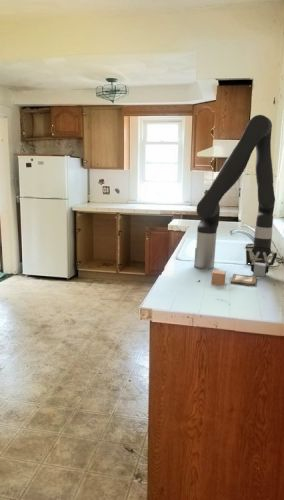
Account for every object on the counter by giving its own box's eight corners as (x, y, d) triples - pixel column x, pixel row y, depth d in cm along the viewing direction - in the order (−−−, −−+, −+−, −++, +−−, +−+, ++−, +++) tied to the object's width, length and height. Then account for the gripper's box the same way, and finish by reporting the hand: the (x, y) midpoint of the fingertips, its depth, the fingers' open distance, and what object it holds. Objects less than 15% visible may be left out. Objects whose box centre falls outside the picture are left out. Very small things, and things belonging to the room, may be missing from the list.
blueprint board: (230, 283, 159) (230, 280, 159) (233, 275, 170) (233, 273, 170) (255, 286, 156) (255, 283, 155) (256, 278, 167) (256, 276, 167)
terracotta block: (211, 284, 157) (212, 272, 156) (212, 281, 162) (213, 269, 161) (223, 285, 155) (224, 274, 154) (224, 282, 160) (225, 271, 159)
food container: (265, 262, 197) (267, 243, 195) (268, 265, 191) (270, 246, 189) (241, 261, 198) (243, 242, 196) (243, 264, 192) (245, 245, 190)
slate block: (253, 275, 171) (254, 264, 170) (253, 272, 176) (254, 262, 175) (264, 276, 170) (265, 266, 169) (264, 274, 175) (265, 263, 173)
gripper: (246, 236, 168) (242, 273, 172) (279, 239, 163) (275, 276, 167) (247, 234, 175) (243, 269, 179) (279, 236, 170) (275, 272, 174)
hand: (259, 272), depth 173 cm, fingers closed on slate block, 5 cm apart
